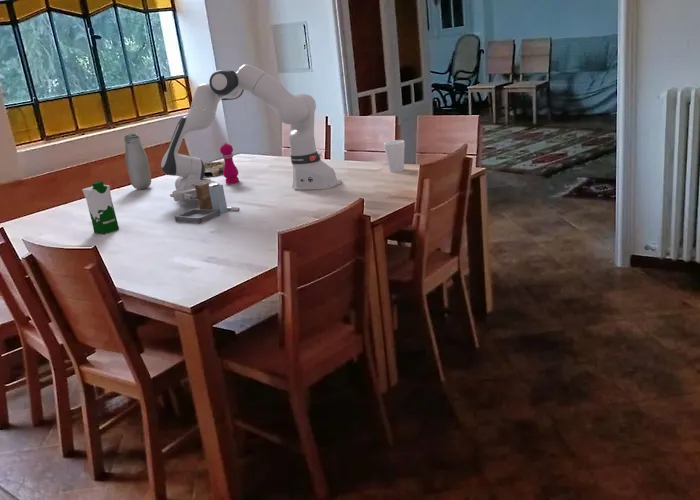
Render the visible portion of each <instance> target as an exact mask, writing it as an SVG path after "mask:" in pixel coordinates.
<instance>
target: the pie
mask: <svg viewBox="0 0 700 500" xmlns="http://www.w3.org/2000/svg"><path fill="white" fill-rule="evenodd" d="M203 163H204V166H205V173H211V174H212V177H220V176H222V174H221V173H223V170H224V166H225V162H224V160H223V161H222V160H219V161H209V162H203ZM206 178H207V176H206V175H204V177H203V179H206Z"/></svg>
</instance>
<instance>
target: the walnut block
mask: <svg viewBox="0 0 700 500" xmlns="http://www.w3.org/2000/svg"><path fill="white" fill-rule="evenodd" d="M195 190H196V195H197V203H198V209H210V210H213V207H212V202H211V197H210V192H209V183H199V184H196V185H195Z"/></svg>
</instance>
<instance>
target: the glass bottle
mask: <svg viewBox="0 0 700 500" xmlns="http://www.w3.org/2000/svg"><path fill="white" fill-rule="evenodd" d="M123 140H124V143H125V151H124V152H125V154H124V155H125V156H124V157H125V158H124V159H125V164H126V168H127V169H126V170H127V172H128V173H127V174H128V176H129V180H130V183H131V186H132V187H133V188H134V189H136V190H145V189H147V188H149V187H150V186H151V184H152V175H151V171H150V165H149V160H148V156H147V153H146V151H145V149H144V147H143V145H142V142H141V138H140V135H139V133H137V132H128V133H126V134H125V135H124V138H123Z"/></svg>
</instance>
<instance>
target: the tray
mask: <svg viewBox="0 0 700 500" xmlns="http://www.w3.org/2000/svg"><path fill="white" fill-rule="evenodd" d="M220 216H221V214H220V212H219V210H213V209H211V210H210V209H199V208H196V207H194V208H192V209H190V210H187V211H185V212H183V213H180V214H177V215H175V216H174V222H177V223H178V222H179V223H189V224H190V223H191V224H202V223H205V222H207V221H209V220H212V219H214V218H216V217H220Z"/></svg>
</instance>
